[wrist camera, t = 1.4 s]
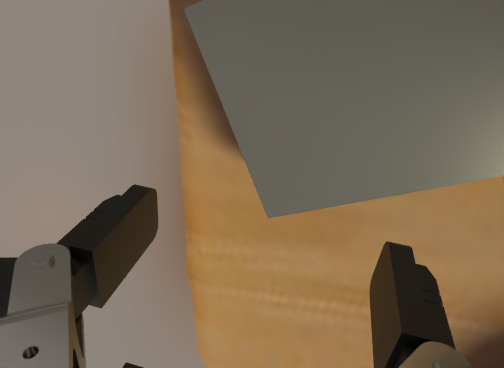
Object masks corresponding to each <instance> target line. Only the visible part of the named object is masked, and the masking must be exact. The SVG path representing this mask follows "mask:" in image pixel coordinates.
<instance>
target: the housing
mask: <svg viewBox="0 0 504 368" xmlns="http://www.w3.org/2000/svg"><path fill="white" fill-rule="evenodd" d="M184 12H185V14H186V17H187V19H188V22H189V24H190V27H191V29H192V32H193V34H194V37H195V39H196V42H197V44H198V46H199V49H200V51H201V54H202V56H203V59H204V61H205V64H206V66H207V69H208V71H209V74H210V76H211V79H212V81H213V84H214V86H215V89H216V91H217V93H218V96H219V98H220V101H221V103H222V106H223V108H224V111H225V113H226V116H227V118H228V121H229V123H230V126H231V128H232V131H233V133H234V135H235V138H236V140H237V143H238V145H239V148H240V150H241V153H242V155H243V158H244V160H245V163H246V165H247V168H248V170H249V173H250V175H251V178H252V180H253V182H254V185H255V187H256V190H257V192H258V195H259V197H260V200H261V202H262V205H263V207H264V210H265V212H266V215H267V217H268V218H273V217H278V216H284V215H289V214H295V213H300V212H306V211H311V210H317V209H322V208H328V207H333V206H339V205H344V204H350V203H356V202H361V201H367V200H372V199H378V198H383V197H389V196H394V195H400V194H405V193H411V192H416V191H422V190H427V189H433V188H438V187H444V186H449V185H455V184H460V183H466V182H471V181H477V180H482V179H488V178H493V177H499V176H504V0H202V1H200V2H198V3H195V4H193V5H191V6H189V7H187V8H184Z"/></svg>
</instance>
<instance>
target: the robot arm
mask: <svg viewBox="0 0 504 368" xmlns="http://www.w3.org/2000/svg"><path fill="white" fill-rule="evenodd" d="M157 208H158V207H157V192H156V190H155V189H153V188H148V187H144V186H139V185H133V186H131V187H130V188H129V189H128V190H127V191H126V192H125V193H124V194H123V195H122V196H120V195H116V196H113V197H111V198H109V199H107V200H105V201H103V202H102V203H101V204H100V205H99V206H98V207H96V208H95V209H94V211H93V212H91V213H90V214H89V215H88V216H86V219H83V220H82V221H81V222H80V223H79V224H78V225H77V226H75V227H74V228H73V229H72V230H71V231H70V232H69V233H68V234H66V235H65V236H64V237H63V238H62V239H61V240H60V241H59V242H58V243H56V244H43V245H39V246H35V247H33V248H31V249H29V250H27V251H25V252H24V253H22V254H21V255H20V256H19V258H0V368H86V357H85V340H84V322H83V314H82V312H83V311H84V310H85V308H86V307H87V306H88V305H91V306H95V307H98V308H102V307H103V306H104V305H105V303H106V302H107V300H108V299H109V298H110V297H111V295H112V294H113V293H114V291H115V290H116V289H117V287H118V286H119V285H120V283H121V282H122V281H123V279H124V278H125V277H126V275H127V274H128V273H129V271H130V270H131V269H132V267H133V266H134V265H135V263H136V262H137V261H138V260H139V258H140V257H141V256H142V254H143V253H144V251H145V250H146V249H147V248H148V246H149V245H150V244H151V242H152V241H153V240H154V238H155V236H156V233H157V229H158V209H157ZM439 294H440V292H439V289H438V285H437V282H436V279H435V278H434V276H433V275H432V274H431V272H430V271H429V270H428V269H427V267H426V266H423V265H419V264H415V259H414V255H413V251H412V248H411V247H410V246H406V245H401V244H397V243H392V242H388V241H387V242H386V243H385V244H384V246H383V249H382V252H381V254H380V257H379V260H378V262H377V265H376V268H375V270H374V273H373V276H372V279H371V284H370V309H371V326H372V343H373V360H374V368H473V367H472V365H471V364H470V363H469V361H468V360H467V359H466V358H465V357H464V356H463V355H462V354H461V353H459V352H458V351H457V350H456V349H455V345H454V342H453V338H452V335H451V331H450V328H449V324H448V321H447V317H446V313H445V310H444V307H443V303H442V299H441V296H440V295H439ZM123 368H143V367H139V366H136V365H133V364H130V363H125V365H124V366H123Z"/></svg>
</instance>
